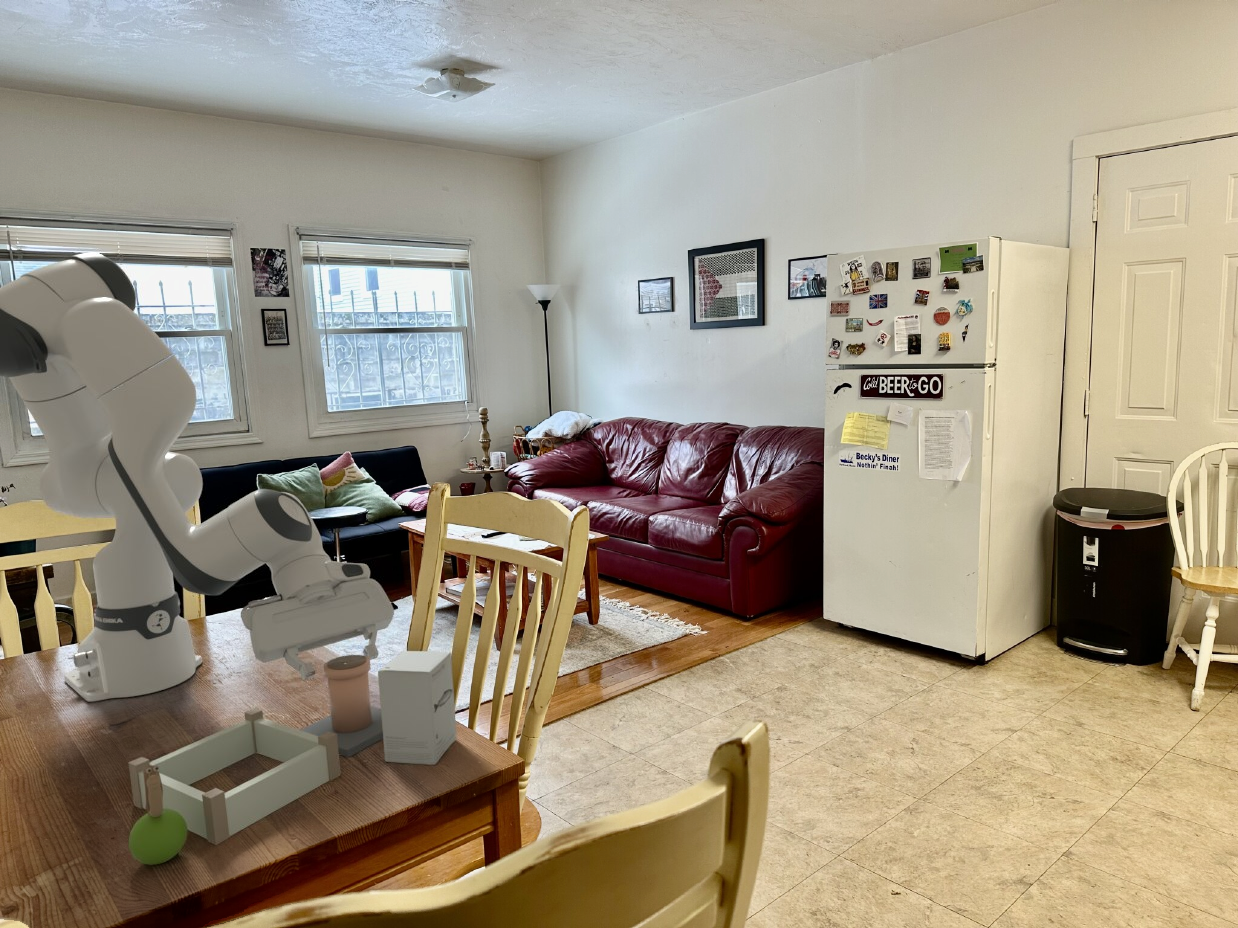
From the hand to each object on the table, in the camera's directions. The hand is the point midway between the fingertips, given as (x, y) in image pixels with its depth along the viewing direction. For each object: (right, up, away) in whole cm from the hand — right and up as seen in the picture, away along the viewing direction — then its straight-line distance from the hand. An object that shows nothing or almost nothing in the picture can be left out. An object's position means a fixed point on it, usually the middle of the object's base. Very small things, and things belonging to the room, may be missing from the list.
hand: (342, 667), depth 118 cm
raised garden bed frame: (-7, -11, -17) cm, 21 cm away
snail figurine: (-9, -13, -31) cm, 34 cm away
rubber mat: (+2, -9, -2) cm, 9 cm away
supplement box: (+14, -9, -8) cm, 18 cm away
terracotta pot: (+2, -8, -2) cm, 8 cm away
